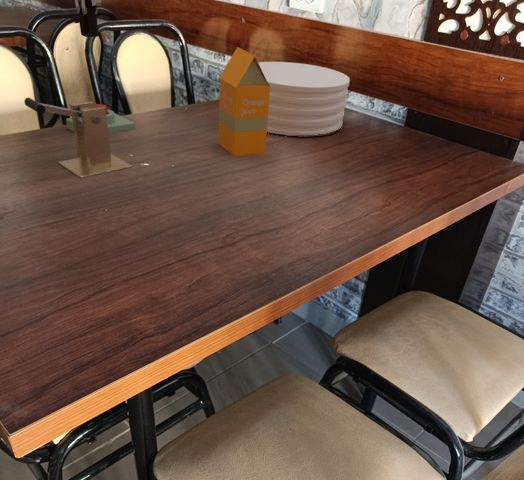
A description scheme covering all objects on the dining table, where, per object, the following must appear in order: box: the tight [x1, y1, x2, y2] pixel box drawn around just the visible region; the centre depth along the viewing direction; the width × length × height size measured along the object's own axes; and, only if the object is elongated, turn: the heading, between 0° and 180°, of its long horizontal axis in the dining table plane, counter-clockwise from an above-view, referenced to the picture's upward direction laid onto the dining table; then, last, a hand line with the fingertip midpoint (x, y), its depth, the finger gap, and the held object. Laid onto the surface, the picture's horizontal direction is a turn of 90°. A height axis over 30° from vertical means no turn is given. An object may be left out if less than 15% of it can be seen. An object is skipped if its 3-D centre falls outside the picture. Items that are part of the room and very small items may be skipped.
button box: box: [65, 108, 136, 134], centre depth 117 cm, size 12×10×4 cm
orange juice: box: [218, 46, 270, 157], centre depth 108 cm, size 8×9×20 cm
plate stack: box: [257, 61, 351, 135], centre depth 132 cm, size 28×28×12 cm
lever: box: [24, 97, 88, 122], centre depth 90 cm, size 12×5×2 cm, turn 133°
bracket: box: [57, 100, 133, 179], centre depth 96 cm, size 11×9×12 cm
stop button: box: [94, 103, 108, 115], centre depth 115 cm, size 4×4×2 cm
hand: (90, 35), depth 106 cm, fingers closed
